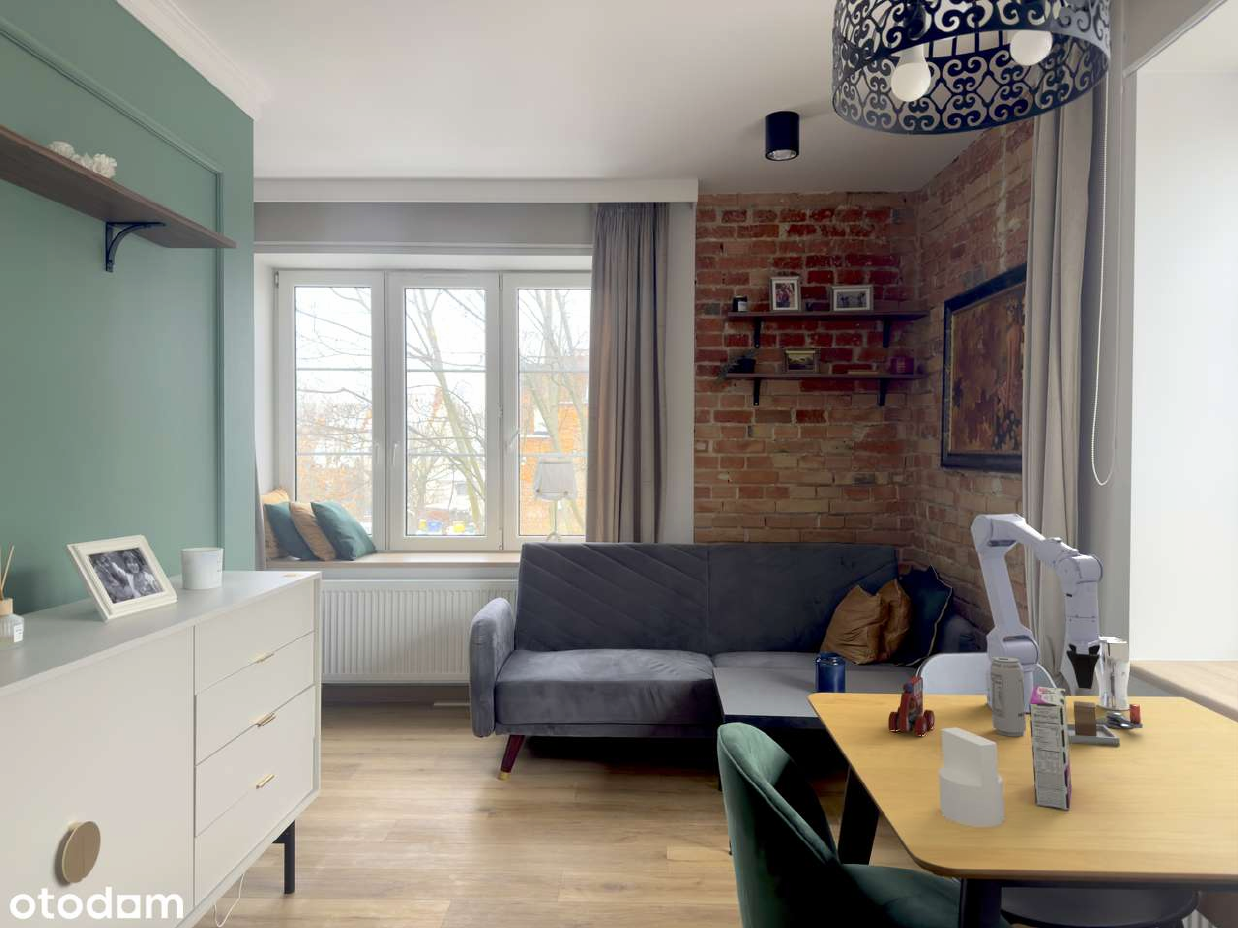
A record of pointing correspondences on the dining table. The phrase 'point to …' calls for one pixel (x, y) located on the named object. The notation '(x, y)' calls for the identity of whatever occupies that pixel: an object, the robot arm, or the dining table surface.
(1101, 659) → the beer glass
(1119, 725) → the crank hub
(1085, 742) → the tray
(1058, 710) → the candy bar box
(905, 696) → the toy fire truck
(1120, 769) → the dining table surface
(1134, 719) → the crank
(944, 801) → the base with upright slab
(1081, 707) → the block
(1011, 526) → the robot arm
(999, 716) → the energy drink can
